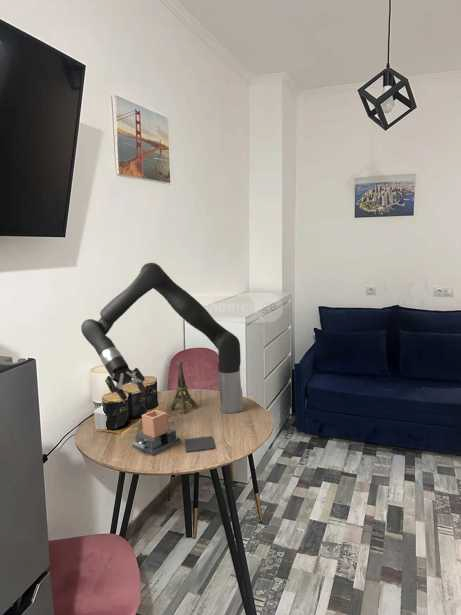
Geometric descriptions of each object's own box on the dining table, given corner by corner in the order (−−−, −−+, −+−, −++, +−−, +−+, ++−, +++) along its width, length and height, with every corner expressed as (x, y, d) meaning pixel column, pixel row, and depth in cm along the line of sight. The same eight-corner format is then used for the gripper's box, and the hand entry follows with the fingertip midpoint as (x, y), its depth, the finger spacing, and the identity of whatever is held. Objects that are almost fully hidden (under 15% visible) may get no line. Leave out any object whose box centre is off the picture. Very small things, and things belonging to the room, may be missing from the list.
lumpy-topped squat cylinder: (92, 428, 183) (89, 407, 181) (116, 416, 193) (114, 397, 192) (110, 432, 177) (108, 411, 176) (134, 420, 188) (132, 400, 186)
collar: (156, 427, 167) (155, 409, 166) (168, 431, 163) (166, 413, 162) (143, 433, 162) (141, 415, 161) (154, 437, 158) (152, 418, 157)
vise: (160, 434, 172) (158, 408, 170) (180, 441, 164) (178, 414, 163) (128, 449, 161) (125, 421, 159) (148, 457, 153) (145, 428, 152)
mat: (211, 437, 167) (211, 436, 167) (215, 449, 157) (215, 447, 157) (184, 440, 165) (184, 439, 165) (186, 452, 155) (186, 451, 155)
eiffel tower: (182, 403, 206) (178, 349, 202) (200, 406, 199) (196, 351, 196) (166, 410, 197) (161, 354, 194) (184, 414, 191) (179, 356, 187)
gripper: (100, 360, 166) (122, 395, 160) (132, 351, 177) (154, 384, 171) (94, 372, 170) (115, 407, 165) (125, 363, 181) (146, 395, 175)
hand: (135, 395), depth 168 cm, fingers open, 8 cm apart
